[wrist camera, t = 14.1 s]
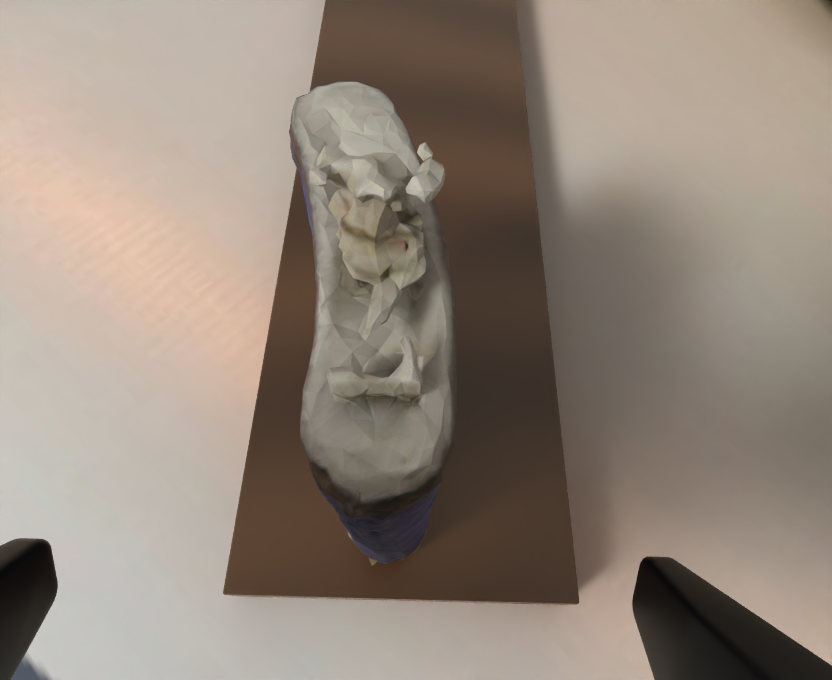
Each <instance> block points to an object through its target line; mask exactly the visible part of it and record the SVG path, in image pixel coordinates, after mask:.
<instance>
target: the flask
mask: <svg viewBox="0 0 832 680" xmlns="http://www.w3.org/2000/svg"><path fill="white" fill-rule="evenodd" d="M289 133H290V138H291V147H290V148H291V153H292V158H293V160H294V163H295V165H296V167H297V169H298V171H299V174H300V176H301V180H302V186H303V191H304V197H305V201H306V205H307V211H308V218H309V223H310V227H311V230H312V235H313V250H314V261H315V281H316V308H315V327H314V340H313V347H312V352H311V357H310V362H309V368H308V371H307V375H306V379H305V383H304V387H303V396H302V408H301V419H300V440H301V443H302V446H303V449H304V452H305V455H306V458H307V461H308V465H309V469H310V471H311V473H312V475H313V477H314V480H315V482H316V484H317V486H318V488H319V490H320V491H321V493H322V494H323V496H325V497H326V499H327V501H328V502H329V503H331V505H332V506H333V508H334V509H335V511H336V512H337V513H338V515H339V518H340V521H341V522H342V524H343V525H344V526H345V528H346V530H347V531H348V535H349V537H350V538H351V540H352V541H353V543H354V544H355V545H356V547H357V548H358V549H359V550H360V551H361V552H362V553H364V554H365V555H366V556H368V558H369V560H370V562H371V564H372V566H373V565H374V564H375V563H376V562H380V563H382V564H389V563H392V562H395V561H398V560H403V559H405V558H406V557H407V556H409V555H410V554H412V553H413V552H415V551H417V550H418V549H419V547H420V544H421V543H422V541H423V539H424V537H425V534H426V531H427V527H428V524H429V515H430V511H431V507H432V504H433V503H434V500H435V497H436V495H437V492H438V489H439V486H440V483H441V482H442V480H443V477H444V474H445V471H446V467H447V463H448V461H449V460H450V458H451V457H452V455H453V450H454V446H455V427H456V416H457V353H456V332H457V314H456V309H455V288H454V284H453V281H452V277H451V271H450V265H449V251H448V249H447V247H446V245H445V237H444V233H443V230H442V227H441V222H440V217H439V213H438V208H437V203H436V201H435V199H434V198H435V197H436V196H437V194H438V193H439V191H440V189H441V188H442V186H443V184H444V179H445V175H446V174H445V170H444V166H443V165H442V164H440V163H439V162H437V161H435V160H433V159H432V157H433V152H432V151H431V149H430V148H429V147H428V145H427V144H426V143H423V144H421V145H419V148H418V151H417V150H416V147H415V145H414V142H413V140H412V138H411V136H410V133H409V131H408V129H407V127H406V126H405V124H404V123H403V120H402V117H401V114H400V113H399V112H398V111H397V110H396V109H395V107H394V105H393V103H392V102H391V100H390V99H389V98H388V97H387V96H386V95H385V94H384V93H383V92H382V91H381V90H380V89H377V88H374V87H371V86H367V85H364V84H361V83H358V82H335V83H332V84H329V85H325V86H318V87H316V88H314V89H313V90H312V91H310V92H309V93H308V94H306V95H303V96H300V97H298V98H296V101H295V104H294V107H293V110H292V116H291V125H290V130H289ZM418 155H419V156H420V157H421V159H422V160H423V161H425V162H423V163H422V164H421V162H420V160H419V157H418Z"/></svg>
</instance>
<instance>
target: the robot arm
mask: <svg viewBox="0 0 832 680" xmlns="http://www.w3.org/2000/svg"><path fill="white" fill-rule="evenodd" d="M57 587H58V583H57V577H56V571H55V566H54V560H53V555H52V550H51V546H50V544H49V543H48V541H46V540H44V539H29V538H20V539H14V540H12V541H10V542H8V543H6V544H3V545H1V546H0V680H11V679H12V677H13V675H14V674H15V672H16V670H17V668H18V666H19V664H20V663H21V661H22V659H23V657H24V655H25V653H26V652H27V650H28V648H29V646H30V644H31V642H32V641H33V639H34V637H35V635H36V633H37V631H38V630H39V628H40V626H41V624H42V622H43V620H44V619H45V617H46V615H47V613H48V611H49V609H50V608H51V606H52V604H53V602H54V600H55V597H56V593H57ZM632 605H633V613H634V617H635V620H636V623H637V626H638V629H639V633H640V636H641V639H642V642H643V645H644V648H645V651H646V654H647V657H648V660H649V663H650V667H651V670H652V673H653V676H654V679H655V680H832V666H831V665H830V664H828V663H827V662H825V661H824V660H822V659H821V658H820V657H818V656H817V655H815V654H814V653H812V652H811V651H809V650H808V649H806V648H805V647H803V646H802V645H800V644H799V643H797V642H796V641H794V640H793V639H791V638H790V637H788V636H787V635H785V634H784V633H782V632H781V631H779V630H778V629H776V628H775V627H773V626H772V625H771V624H769V623H768V622H766V621H765V620H763V619H762V618H760V617H759V616H757V615H756V614H754V613H753V612H751V611H750V610H748V609H747V608H745V607H744V606H742V605H741V604H739V603H738V602H736V601H735V600H733V599H732V598H730V597H729V596H727V595H726V594H725V593H723V592H722V591H720V590H719V589H717V588H716V587H714V586H713V585H711V584H710V583H708V582H707V581H705V580H704V579H702V578H701V577H699V576H698V575H696V574H695V573H693V572H692V571H690V570H689V569H687V568H686V567H684V566H683V565H681V564H680V563H679V562H677V561H676V560H674V559H672V558H669V557H645V558H644V559H643V560H642V561H641V563H640V567H639V571H638V576H637V581H636V585H635V590H634V595H633V604H632Z"/></svg>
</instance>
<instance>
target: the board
mask: <svg viewBox="0 0 832 680" xmlns="http://www.w3.org/2000/svg"><path fill="white" fill-rule="evenodd" d="M335 82H358V83H361V84H364V85H367V86H371V87H374V88H377V89H380V90H381V91H382V92H383V93H384V94H385V95H386V96H387V97H388V98H389V99H390V100H391V102H392V103H393V105H394V107H395V109H396V110H397V111H398V112H399V113H400V114H401V117H402V120H403V123H404V124H405V126H406V127H407V129H408V131H409V133H410V136H411V138H412V140H413V142H414V145H415V147H416V150H417V151H418V148H419V145H421V144H423V143H426V144H427V145H428V147H429V148H430V149H431V151H432V152H433V157H432V159H433V160H435V161H437V162H439V163H440V164H442V165H443V166H444V170H445V174H446V175H445V179H444V184H443V186H442V188H441V189H440V191H439V193H438V194H437V196H436V197H435V198H434V199H435V201H436V203H437V208H438V213H439V217H440V222H441V227H442V230H443V233H444V237H445V245H446V247H447V249H448V251H449V265H450V271H451V277H452V281H453V284H454V288H455V309H456V314H457V332H456V353H457V416H456V427H455V446H454V450H453V455H452V457H451V458H450V460H449V461H448V463H447V467H446V471H445V474H444V477H443V480H442V482H441V483H440V486H439V489H438V492H437V495H436V497H435V500H434V503H433V504H432V507H431V511H430V515H429V524H428V527H427V531H426V534H425V537H424V539H423V541H422V543H421V544H420V547H419V549H418V550H417V551H415V552H413V553H412V554H410V555H409V556H407V557H406V558H405V559H403V560H398V561H395V562H392V563H389V564H382V563H380V562H376V563H375V564H374V565H373V566H372V564H371V562H370V560H369V558H368V556H366V555H365V554H364V553H362V552H361V551H360V550H359V549H358V548H357V547H356V545H355V544H354V543H353V541H352V540H351V538H350V537H349V535H348V531H347V530H346V528H345V526H344V525H343V524H342V522H341V521H340V518H339V515H338V513H337V512H336V511H335V509H334V508H333V506H332V505H331V503H329V502H328V501H327V499H326V497H325V496H323V494H322V493H321V491H320V490H319V488H318V486H317V484H316V482H315V480H314V477H313V475H312V473H311V471H310V469H309V465H308V461H307V458H306V455H305V452H304V449H303V446H302V443H301V440H300V419H301V408H302V396H303V387H304V383H305V379H306V375H307V371H308V368H309V362H310V357H311V352H312V347H313V340H314V327H315V308H316V281H315V261H314V250H313V235H312V230H311V227H310V223H309V218H308V211H307V205H306V201H305V197H304V191H303V186H302V180H301V176H300V174H299V171H298V169H296V174H295V180H294V186H293V192H292V198H291V203H290V209H289V215H288V221H287V226H286V232H285V238H284V244H283V250H282V255H281V261H280V267H279V273H278V278H277V284H276V290H275V296H274V302H273V307H272V313H271V319H270V325H269V330H268V336H267V342H266V348H265V354H264V359H263V365H262V371H261V377H260V382H259V388H258V394H257V400H256V406H255V411H254V417H253V423H252V429H251V434H250V440H249V446H248V452H247V457H246V463H245V469H244V475H243V481H242V486H241V492H240V498H239V504H238V509H237V515H236V521H235V527H234V533H233V538H232V544H231V550H230V556H229V561H228V567H227V573H226V579H225V585H224V590H223V594H225V595H232V596H252V597H289V598H326V599H363V600H400V601H437V602H474V603H511V604H548V605H571V604H579V595H578V586H577V577H576V567H575V558H574V549H573V539H572V530H571V520H570V511H569V502H568V492H567V483H566V474H565V464H564V455H563V446H562V436H561V427H560V418H559V408H558V399H557V390H556V380H555V371H554V362H553V352H552V343H551V334H550V324H549V315H548V305H547V296H546V287H545V277H544V268H543V259H542V249H541V240H540V231H539V221H538V212H537V203H536V193H535V184H534V175H533V165H532V156H531V147H530V137H529V128H528V119H527V109H526V100H525V91H524V81H523V72H522V62H521V53H520V44H519V34H518V25H517V16H516V6H515V0H326V1H325V7H324V13H323V19H322V24H321V30H320V36H319V42H318V47H317V53H316V59H315V65H314V71H313V76H312V82H311V88H310V91H312V90H313V89H314V88H316V87H318V86H325V85H329V84H332V83H335ZM418 157H419V160H420V162H421V164H422V163H423V162H425V161H423V160H422V159H421V157H420V156H419V155H418Z"/></svg>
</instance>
